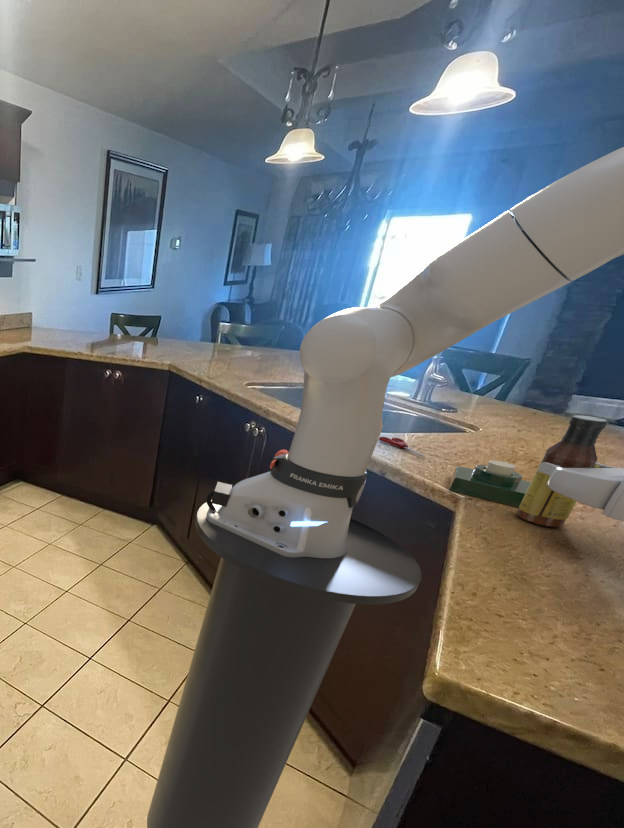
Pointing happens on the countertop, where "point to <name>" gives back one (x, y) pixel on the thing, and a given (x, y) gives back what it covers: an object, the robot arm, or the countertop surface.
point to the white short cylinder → (500, 467)
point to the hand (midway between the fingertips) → (566, 466)
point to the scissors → (398, 443)
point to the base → (489, 485)
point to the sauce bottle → (568, 453)
